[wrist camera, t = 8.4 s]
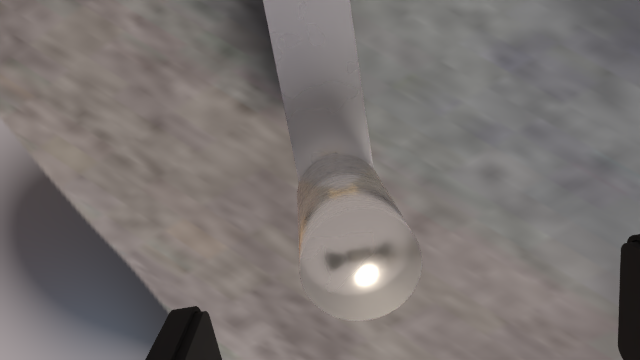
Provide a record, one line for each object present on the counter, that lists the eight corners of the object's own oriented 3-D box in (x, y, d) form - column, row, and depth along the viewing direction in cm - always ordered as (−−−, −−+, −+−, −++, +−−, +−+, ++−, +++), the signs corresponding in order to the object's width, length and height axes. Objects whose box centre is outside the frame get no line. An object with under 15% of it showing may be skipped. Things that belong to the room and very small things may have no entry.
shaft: (312, -226, 16) (334, -513, 8) (374, 199, 22) (428, 308, 13) (219, -209, 16) (140, -478, 8) (303, 212, 21) (311, 330, 13)
